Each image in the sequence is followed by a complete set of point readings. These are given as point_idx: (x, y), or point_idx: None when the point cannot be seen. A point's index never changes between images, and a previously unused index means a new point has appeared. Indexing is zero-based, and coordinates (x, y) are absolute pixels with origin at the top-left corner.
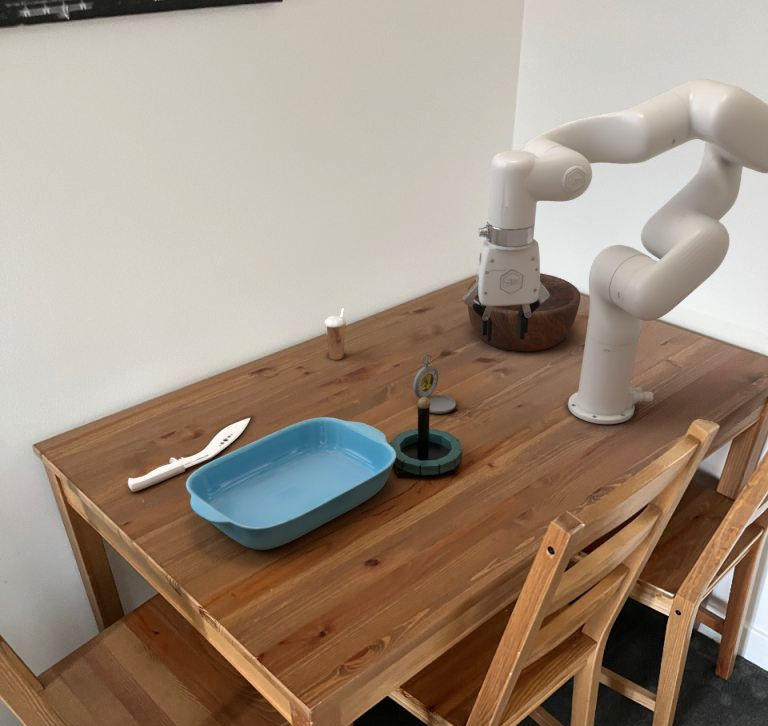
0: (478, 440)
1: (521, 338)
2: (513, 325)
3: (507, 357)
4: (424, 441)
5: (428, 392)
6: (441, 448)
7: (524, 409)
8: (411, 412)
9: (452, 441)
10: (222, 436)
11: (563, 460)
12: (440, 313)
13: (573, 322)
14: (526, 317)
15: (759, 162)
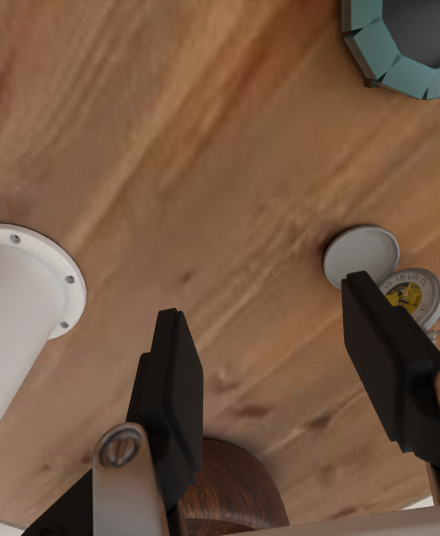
0: (279, 120)
1: (172, 311)
2: (207, 484)
3: (213, 422)
4: None
5: (385, 288)
6: (392, 30)
7: (175, 267)
8: (421, 230)
9: (375, 20)
10: None
11: (57, 36)
12: (316, 510)
13: None
14: (133, 425)
15: None
